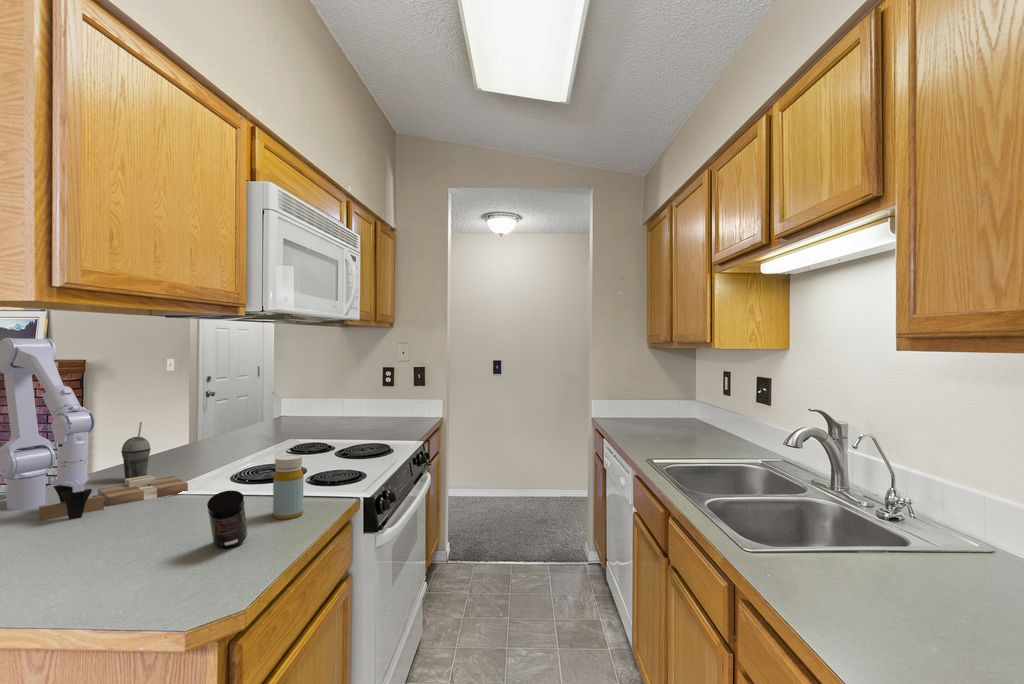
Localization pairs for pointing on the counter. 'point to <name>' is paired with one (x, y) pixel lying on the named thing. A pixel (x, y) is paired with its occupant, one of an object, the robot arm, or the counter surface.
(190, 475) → the counter surface
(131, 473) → the beverage cup
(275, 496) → the bottle
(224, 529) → the supplement container
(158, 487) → the wooden block stack
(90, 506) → the wooden l-shaped bracket
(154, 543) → the counter surface
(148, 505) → the counter surface
